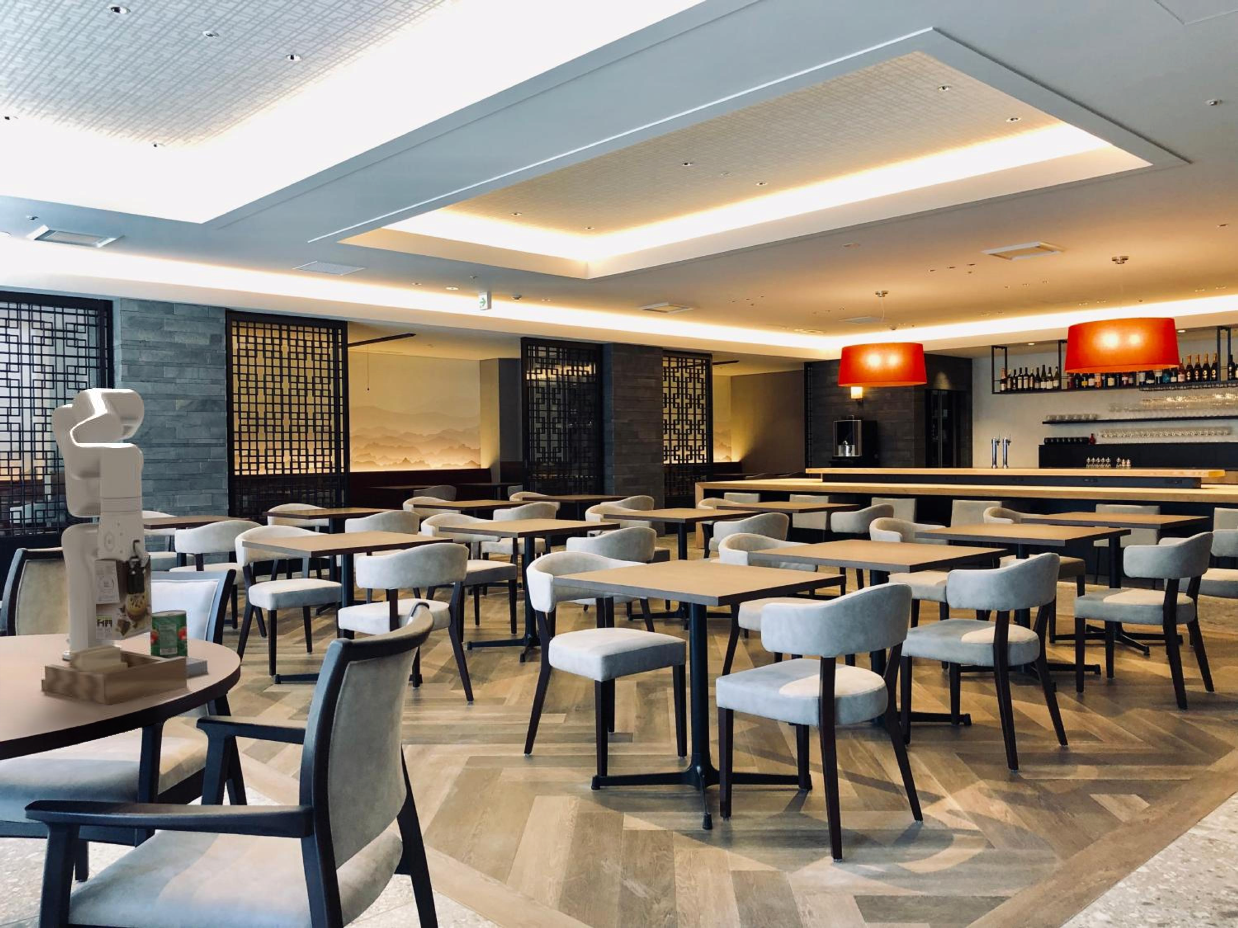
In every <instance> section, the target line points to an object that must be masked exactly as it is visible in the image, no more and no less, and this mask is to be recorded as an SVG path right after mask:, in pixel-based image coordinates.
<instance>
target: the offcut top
mask: <svg viewBox="0 0 1238 928" xmlns="http://www.w3.org/2000/svg"><path fill="white" fill-rule="evenodd" d="M69 656H70V660H69V668H73V669H78V670H83V671H87V670H92V669H97V668H102V667H107V666H112V665H117V664H121V661H120V647H115V646H111V645H105V646H99V647H94V648H88V649H83V650H77V651H72V652H69Z"/></svg>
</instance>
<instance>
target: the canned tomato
mask: <svg viewBox="0 0 1238 928" xmlns="http://www.w3.org/2000/svg"><path fill="white" fill-rule="evenodd" d="M187 622H188V620H187V611H186V610H184V609H179V610H178V609H173V610H172V609H170V610H161V611H155V612H152V631H151V632H149V634H150V635H149V636H150V639H149V641H150V655H151V656H156V657H162V658H172V657H176V656H185V657H189V656H188V654H189V653H188V625H187V624H188V623H187Z"/></svg>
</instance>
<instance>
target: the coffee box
mask: <svg viewBox="0 0 1238 928" xmlns="http://www.w3.org/2000/svg"><path fill="white" fill-rule="evenodd" d="M151 556H152V555H151V554H149V559H148V561H147V566H146V568H145V570H146V571H145V573H144V592H143V593H138V594H132V595H130V594H128V583H127V575H129V574H130V573H129V571H128V562H127V560H126V562H125V563H124V562H123V561H122V560H117V559H99V560H95V589H96V592H95V593H96V638H97V639H109V640H115V641H125V640H128V639H131V638H134V637H138V636H141V635H144V634H147V633H150V632H151V631H152V613H153V609H152V608H153V607H152V606H153V605H152V604H153V603H152V601H153V599H152V568H151V566H152V565H151V564H152V563H151V562H152V561H151V558H152V557H151ZM130 559H135V558H130ZM135 564H136V563H134V564H133V567H134V566H135Z"/></svg>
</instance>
